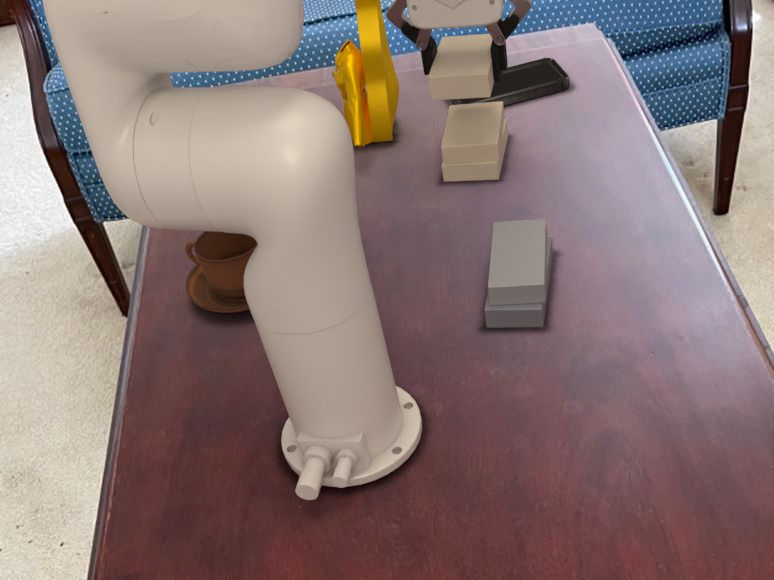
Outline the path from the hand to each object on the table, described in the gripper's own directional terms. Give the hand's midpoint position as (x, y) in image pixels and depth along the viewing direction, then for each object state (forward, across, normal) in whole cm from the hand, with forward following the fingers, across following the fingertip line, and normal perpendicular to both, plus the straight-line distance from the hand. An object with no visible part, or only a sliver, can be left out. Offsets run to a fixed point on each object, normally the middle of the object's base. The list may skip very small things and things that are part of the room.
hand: (466, 76), depth 106 cm
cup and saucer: (+10, -22, -25) cm, 35 cm away
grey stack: (+10, +8, -26) cm, 29 cm away
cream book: (0, 0, 0) cm, 0 cm away
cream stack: (+10, 0, 0) cm, 10 cm away
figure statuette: (+10, -14, +7) cm, 19 cm away
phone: (+10, +2, +17) cm, 20 cm away
